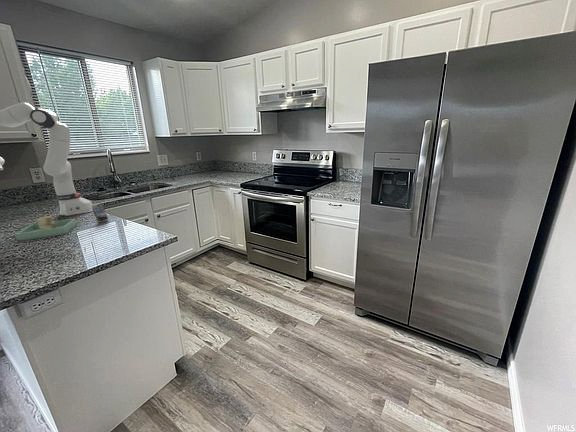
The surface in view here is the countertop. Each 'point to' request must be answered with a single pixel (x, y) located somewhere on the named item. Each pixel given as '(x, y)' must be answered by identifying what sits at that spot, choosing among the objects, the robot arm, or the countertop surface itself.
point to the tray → (35, 232)
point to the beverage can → (99, 212)
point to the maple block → (46, 223)
